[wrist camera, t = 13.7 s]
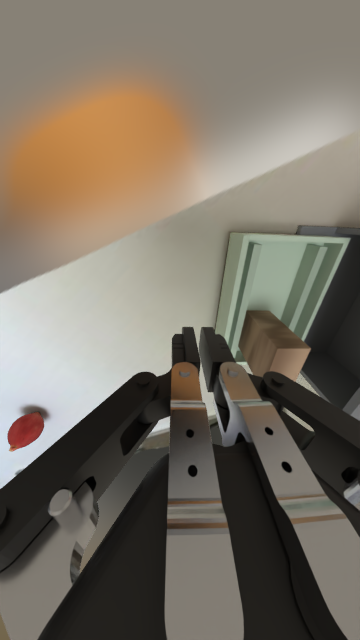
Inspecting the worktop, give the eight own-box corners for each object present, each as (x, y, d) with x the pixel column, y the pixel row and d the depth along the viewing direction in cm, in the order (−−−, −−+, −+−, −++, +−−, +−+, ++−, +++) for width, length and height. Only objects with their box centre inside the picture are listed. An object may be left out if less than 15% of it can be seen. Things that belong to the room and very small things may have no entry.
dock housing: (391, 229, 26) (607, 238, 13) (325, 352, 37) (407, 422, 24) (298, 225, 25) (431, 230, 12) (258, 352, 36) (306, 424, 23)
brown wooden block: (269, 310, 29) (311, 348, 21) (258, 344, 33) (291, 390, 24) (245, 310, 29) (277, 348, 20) (237, 345, 33) (262, 390, 24)
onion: (56, 418, 43) (33, 457, 36) (32, 421, 43) (6, 461, 36) (43, 403, 40) (17, 442, 33) (18, 406, 40) (-13, 445, 33)
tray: (327, 236, 25) (360, 239, 21) (281, 350, 35) (298, 369, 30) (230, 232, 24) (244, 234, 20) (212, 350, 34) (218, 370, 29)
